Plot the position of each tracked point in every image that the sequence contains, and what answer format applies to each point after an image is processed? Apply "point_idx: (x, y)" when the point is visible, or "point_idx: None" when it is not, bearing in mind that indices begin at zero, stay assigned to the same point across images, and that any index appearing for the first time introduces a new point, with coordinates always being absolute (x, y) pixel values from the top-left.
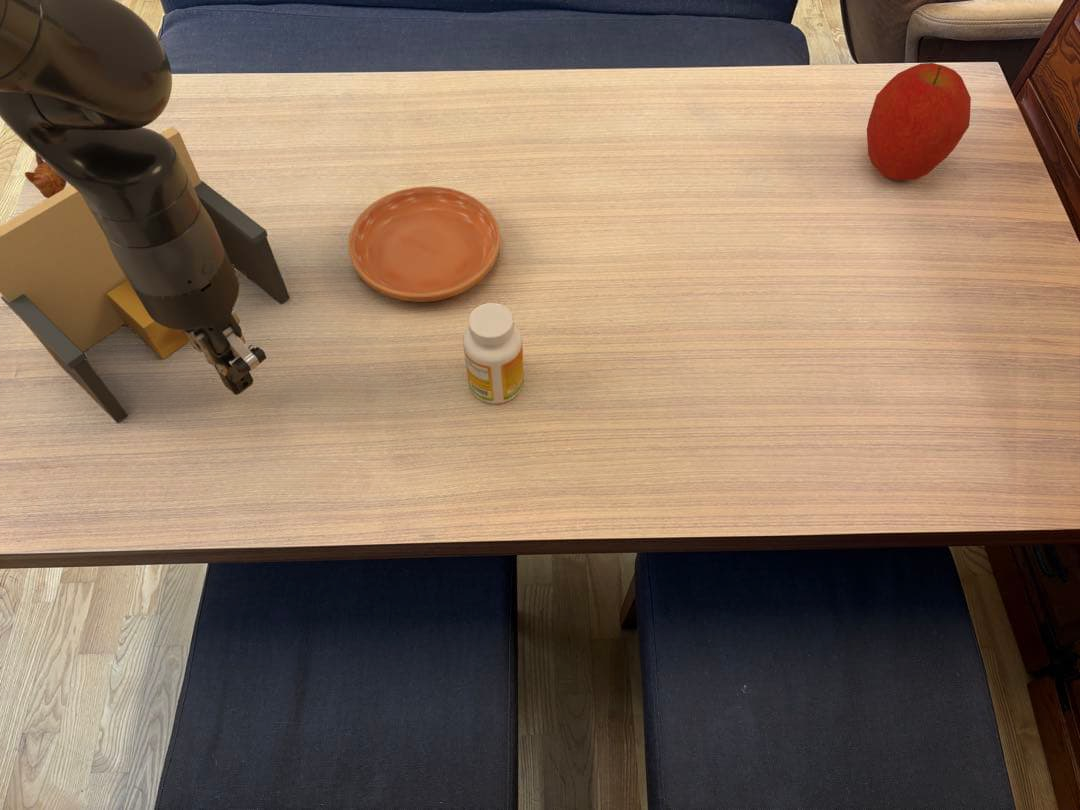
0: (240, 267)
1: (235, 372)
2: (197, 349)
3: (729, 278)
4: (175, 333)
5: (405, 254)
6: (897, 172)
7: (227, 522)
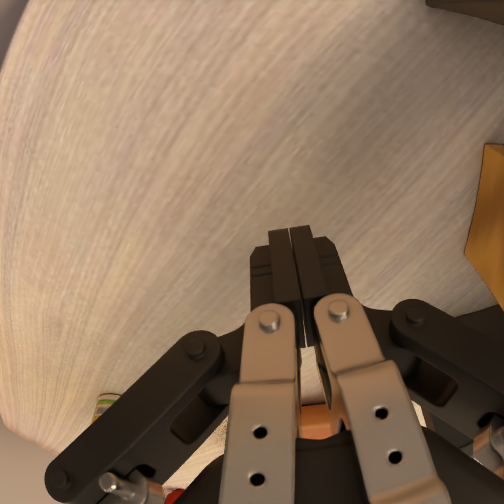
0: (482, 321)
1: (108, 437)
2: (351, 385)
3: None
4: (501, 207)
5: (323, 428)
6: (171, 498)
7: (29, 73)
